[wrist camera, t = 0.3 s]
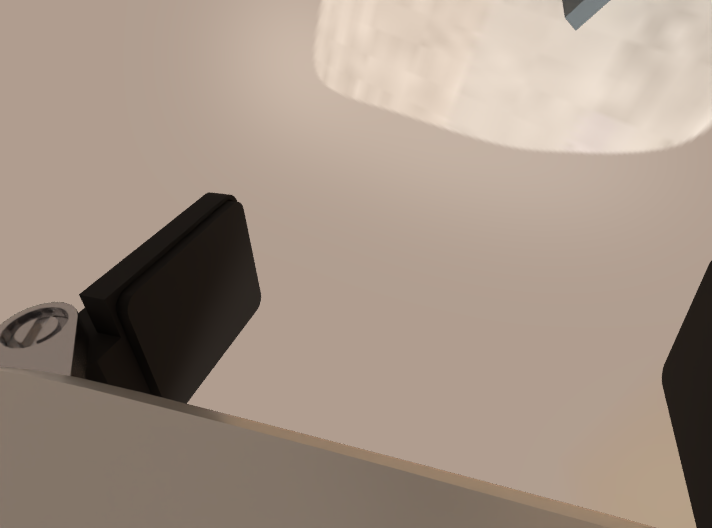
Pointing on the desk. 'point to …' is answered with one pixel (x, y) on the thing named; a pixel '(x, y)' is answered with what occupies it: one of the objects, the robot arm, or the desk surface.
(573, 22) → the l-shaped stand
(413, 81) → the desk surface
